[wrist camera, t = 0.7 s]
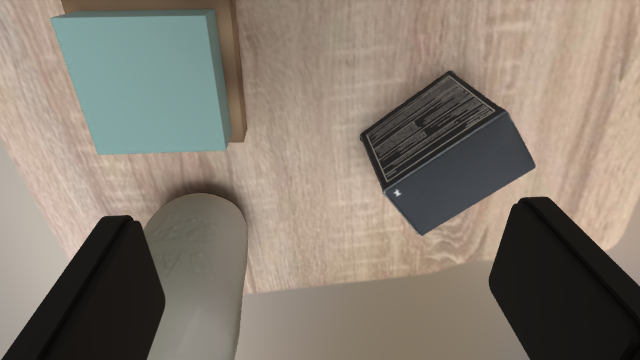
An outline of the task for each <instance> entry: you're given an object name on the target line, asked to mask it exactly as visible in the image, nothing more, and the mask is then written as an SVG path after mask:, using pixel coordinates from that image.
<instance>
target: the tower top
mask: <svg viewBox="0 0 640 360" xmlns="http://www.w3.org/2000/svg"><path fill="white" fill-rule="evenodd" d="M50 20H51V22H52V25H53V28H54V31H55V34H56V37H57V40H58V42H59V45H60V48H61V51H62V54H63V57H64V59H65V62H66V65H67V68H68V71H69V74H70V77H71V79H72V82H73V85H74V88H75V91H76V94H77V96H78V99H79V102H80V105H81V108H82V111H83V114H84V116H85V119H86V122H87V125H88V128H89V131H90V133H91V136H92V139H93V142H94V145H95V148H96V151H97V153H98V155H106V154H136V153H165V152H195V151H225V150H226V149H227V146H228V143H229V140H230V137H231V134H232V130H231V123H230V115H229V108H228V101H227V94H226V87H225V80H224V72H223V65H222V58H221V51H220V44H219V36H218V29H217V22H216V15H215V9H193V10H125V11H75V12H72V13H68V14H64V15H60V16H56V17H52V18H50Z"/></svg>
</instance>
